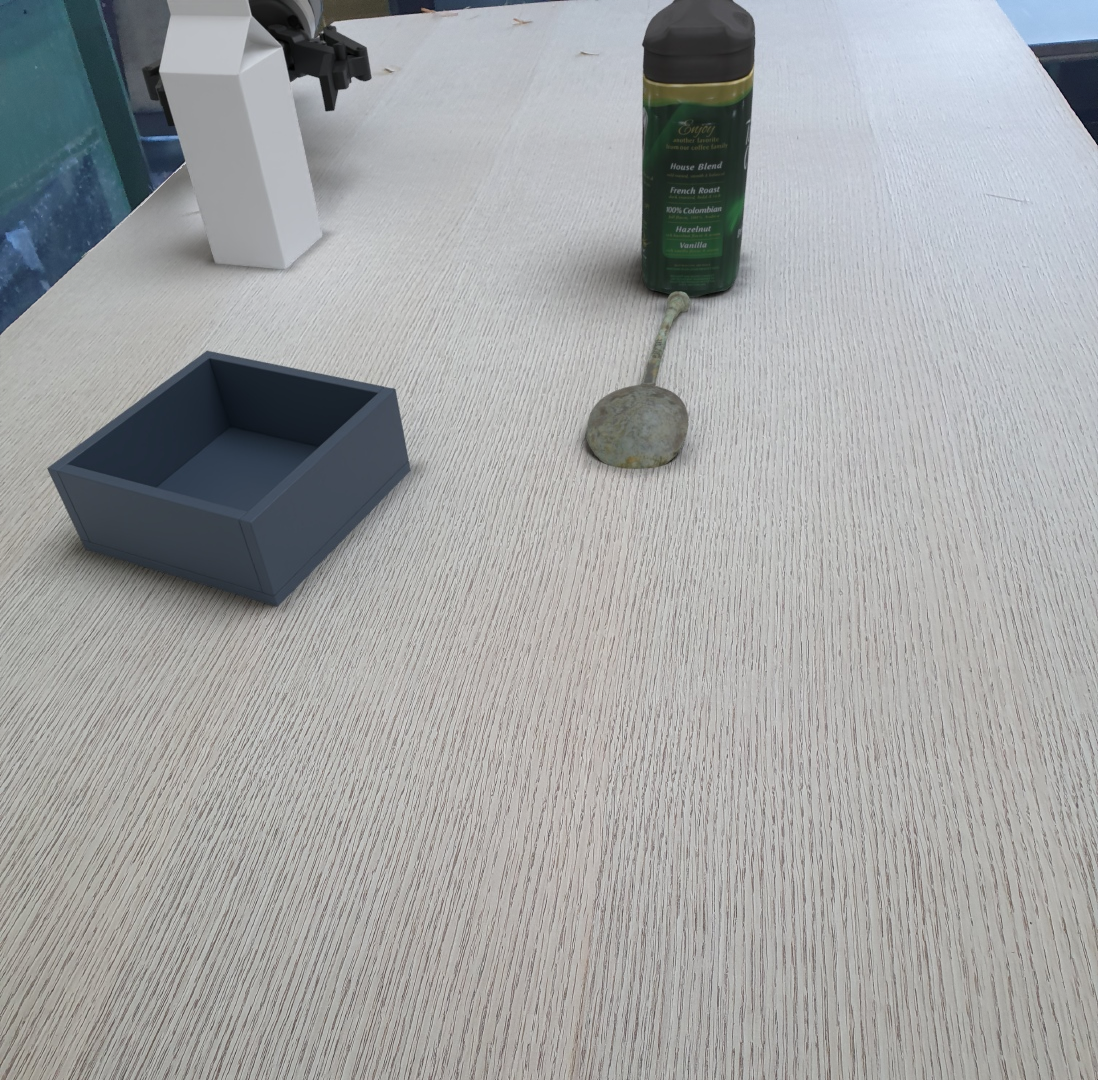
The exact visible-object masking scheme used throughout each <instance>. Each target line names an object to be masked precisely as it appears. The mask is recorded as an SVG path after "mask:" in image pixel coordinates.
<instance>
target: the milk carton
mask: <svg viewBox="0 0 1098 1080" xmlns="http://www.w3.org/2000/svg"><path fill="white" fill-rule="evenodd" d="M166 3H167V5H168V11H169V14H170V16H169V21H168V26H167V32H166V35H165V39H164V40H165V41H164V45H163V50H162V55H161V58H162V59H161V58H160V59H161V64H160V69H159V72H160V76H161V79H162V83H163V86H164V89H165V93H166V96H167V100H168V103H169V107H170V110H171V114H172V117H173V120H174V124H175V126H174V127H175V131H176V133H177V137H178V138H177V139H178V141H179V144H180V147H181V151H182V153H183V154H182V155H183V158H184V161H185V165H186V169H187V171H188V175H189V178H190V182H191V186H192V189H193V192H194V195H195V199H196V203H197V206H198V209H199V213H200V216H201V220H202V223H203V227H204V230H205V233H206V237H207V241H208V244H209V247H210V251H211V254H212V257H213V261H214V263H215V264H219V265H229V266H240V267H252V268H264V269H275V270H286V269H288V268H289V267H290V266H292V264H293V263H295V262H296V260H298V259H299V258H300V257H301V256H302V255H304V253H305V252H307V251H308V250H309V249H310V248H311V247H312V246H313V245H315V243H316V242H318V241H319V240H320V239H321V238H322V237H323V231H322V225H321V221H320V217H319V216H320V215H319V212H318V206H317V202H316V196H315V193H314V188H313V183H312V179H311V174H310V170H309V164H308V160H307V155H306V150H305V146H304V145H305V144H304V141H303V136H302V131H301V127H300V123H299V117H298V112H297V107H296V105H295V104H296V103H295V99H294V95H293V94H294V93H293V90H292V84H291V82H290V80H289V75H288V70H287V66H286V61H285V57H284V52H283V48H282V46H281V45H280V44H279V43H278V42H277V41H276V40H275V39H274V38H273V37H272V36H271V35H270V33H269V32H268V31H267V30H266V29H265V28H264V27H263V26H262V25H261V24H260V23H259V22H258V21H257V20H256V19H255V18H254V17H253V16H252V15H251V11H250V6H249V2H248V0H166Z"/></svg>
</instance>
